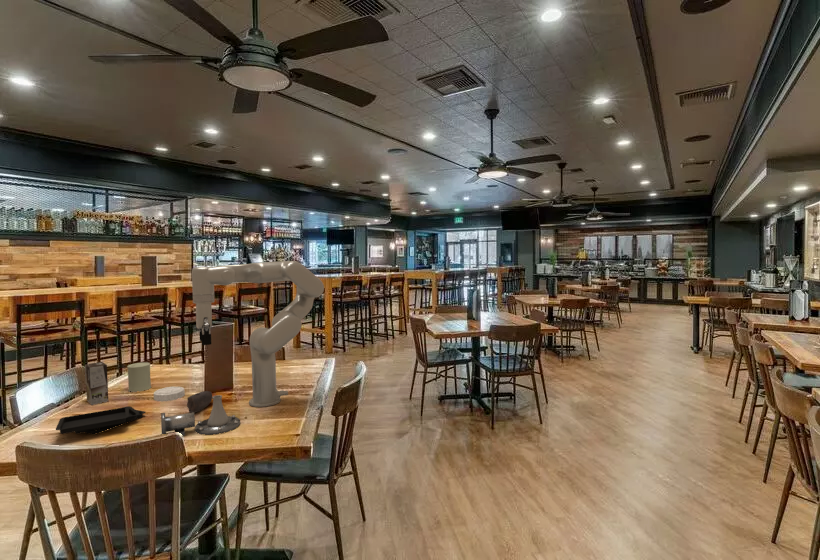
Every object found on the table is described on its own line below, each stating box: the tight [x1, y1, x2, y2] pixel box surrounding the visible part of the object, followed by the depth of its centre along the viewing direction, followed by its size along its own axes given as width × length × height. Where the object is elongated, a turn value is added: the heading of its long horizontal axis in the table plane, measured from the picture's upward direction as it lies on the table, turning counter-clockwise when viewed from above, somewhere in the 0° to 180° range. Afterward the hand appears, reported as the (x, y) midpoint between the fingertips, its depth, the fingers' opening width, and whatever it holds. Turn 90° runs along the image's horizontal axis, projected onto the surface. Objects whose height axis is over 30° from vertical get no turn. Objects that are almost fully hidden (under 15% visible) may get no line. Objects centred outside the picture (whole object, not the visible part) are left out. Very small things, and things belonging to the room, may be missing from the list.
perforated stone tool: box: [186, 390, 213, 414], centre depth 175 cm, size 15×5×7 cm, turn 171°
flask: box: [207, 394, 229, 427], centre depth 156 cm, size 7×7×10 cm
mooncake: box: [153, 385, 185, 402], centre depth 191 cm, size 12×12×4 cm
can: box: [126, 362, 152, 393], centre depth 203 cm, size 9×9×12 cm
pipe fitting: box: [160, 412, 241, 437], centre depth 154 cm, size 25×15×8 cm, turn 120°
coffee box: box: [84, 361, 109, 406], centre depth 186 cm, size 9×6×16 cm
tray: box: [55, 405, 147, 435], centre depth 157 cm, size 30×23×5 cm
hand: (205, 342), depth 168 cm, fingers open, 9 cm apart
